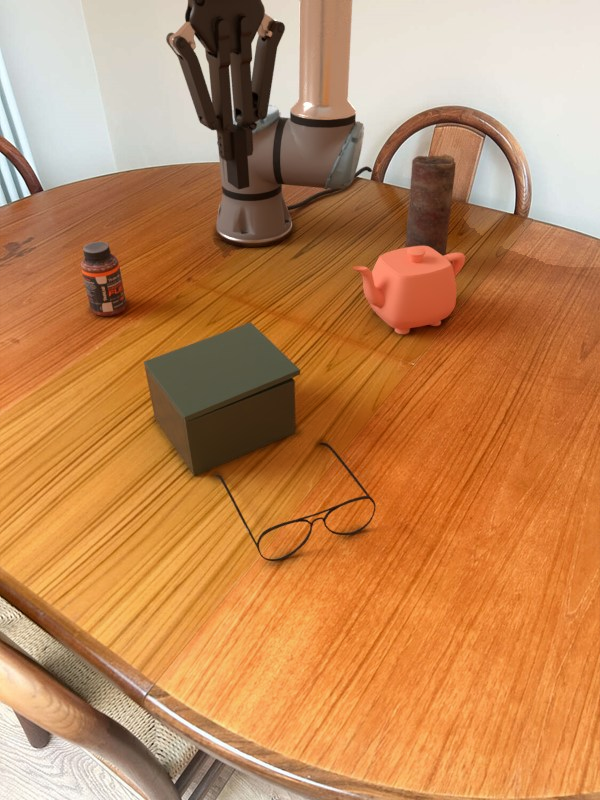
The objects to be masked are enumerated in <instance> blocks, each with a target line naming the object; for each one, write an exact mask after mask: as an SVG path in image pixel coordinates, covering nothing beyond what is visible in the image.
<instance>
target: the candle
mask: <svg viewBox="0 0 600 800" xmlns="http://www.w3.org/2000/svg"><path fill="white" fill-rule="evenodd" d="M456 165H457V163H456V162H455V158H454V157H452V156H451V155H449V154H444V153H443V154H442V155H430V156H427V155H425V156H424V155H417V156H415V157H414V158H413V159H412V161H411V176H410V186H409V187H410V188H409V201H408V210H407V211H408V212H407V220H406V234H405V243H404V244H405V247H404V248H407V247H413V246H429V247H431V248H432V249H434V250H435V251H437V252H438V253H440V254H441V255H442V256H444V255H447V247H448V237H449V229H450V227H449V226H450V217H451V209H452V202H453V201H452V200H453V192H454V184H455V176H456Z"/></svg>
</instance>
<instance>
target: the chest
mask: <svg viewBox="0 0 600 800" xmlns="http://www.w3.org/2000/svg"><path fill="white" fill-rule="evenodd" d="M144 371H145V376H146V380H147V386H148V391H149V396H150V402H151V406H152V411H153V415H154V420H155V421H156V423H157V424H158V426H159V428H160V429H161V430H162V431H163V433H164V435H165V436H166V437H167V439H168V441H169V442H170V443H171V445H172V446H173V447H174V449H175V451H176V452H177V454H178V455H179V456H180V458H181V459H182V462H184V464H185V466H187V468H188V470H189V471H190V472H191V474H192V475H193V476H194V477H196V476H198V475H200V474H202V473H205V472H208V471H210V470H212V469H214V468H217V467H219V466H221V465H224V464H226V463H229V462H231V461H234V460H236V459H238V458H240V457H243V456H245V455H248V454H250V453H252V452H255V451H257V450H259V449H262V448H264V447H266V446H269V445H271V444H273V443H276V442H278V441H281V440H283V439H285V438H288V437H290V436H293V435H295V434H296V381H295V379H294V377H293V378H291V379H288V380H286V381H283V382H281V383H279V384H276V385H274V386H271V387H269V388H267V389H264V390H262V391H259V392H257V393H254V394H252V395H250V396H247V397H245V398H242V399H240V400H238V401H235V402H233V403H230V404H228V405H226V406H223V407H221V408H218V409H216V410H214V411H211V412H209V413H206V414H204V415H202V416H199V417H197V418H194V419H192V420H190V421H187V422H185V421H184V419H183V418H182V416H181V415H180V414H179V412H178V411H177V410H176V408H175V407H174V406H173V404H172V403H171V401H170V400H169V399H168V397H167V396H166V395H165V393H164V392H163V391H162V389H161V388H160V387H159V385H158V384H157V382H156V381H155V380H154V378H153V377H152V376H151V374H150V373H149V372H148V370H147V369H146V367H145V366H144Z"/></svg>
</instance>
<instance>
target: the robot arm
mask: <svg viewBox="0 0 600 800" xmlns="http://www.w3.org/2000/svg"><path fill="white" fill-rule="evenodd" d="M298 1H299V3H298V4H299V6H298V7H299V8H298V9H299V10H298V11H299V13H298V14H299V15H298V17H299V18H298V19H299V20H298V21H299V23H298V28H299V29H298V31H299V32H298V34H299V35H298V99H297V101H296V102H295V103H294V104H293V105H292V106H291V107H290V109H289V110H290V111H289V115H290V116H289V117H285V116H284V117H282V113H281V109H280V108H279V107H278V106H276V105H272V104H270V100H271V99H270V98H271V92H272V86H273V80H274V71H275V66H276V58H277V52H278V47H279V44H280V42H281V40H282V38H283V35H284V33H285V31H286V26H285V24H284V22H282V21H279V20H277V19H274V18H273V17H271V16H269V15H268V14H267V13H266V9H265V5H264V4H263V1H262V0H187V5H186V10H185V14H184V20H185V22H184V23H183V24H182V26H181V27H180V28H179V29H178V30H177V31H176V32H175V33H174V32H169V33H167V35H166V38H165V40H166V44H167V45H168V46H169V47H170V49H171V50H172V52H173V53H174V54H175V56H176V57H177V59H178V62H179V65H180V68H181V72H182V74H183V77H184V80H185V82H186V86H187V88H188V91H189V94H190V98H191V101H192V103H193V107H194V110H195V113H196V115H197V118H198V121H199V123H200V124H201V125H203V126H205V127H206V128H207V129H209V130H211V131H216V138H217V141H216V142H217V143H216V145H217V149H218V158H219V159H218V160H219V169H220V180H221V181H220V182H221V189H222V191H221V193H222V195H221V200H220V203H219V205H218V211H217V218H216V221H215V222H216V223H215V228H216V235H217V236H218V238H219V239H220V240H222V241H223V242H225V243H227V244H229V245H233V246H237V247H243V248H259V247H266V246H267V247H268V246H272V245H275V244H277V243H280V242H282V241H284V240H286V239H287V238H289V237H290V235H291V234H292V232H293V221H292V215H291V214H290V211H291V210H295V209H298V208H299V209H300V208H301V207H303V206H305V205H307V204H309V203H311V202H312V201H313V200H315V199H318V198H320V197H322V196H325V195H329V194H333V193H336V192H339V191H342V190H344V189H347V188H348V187H350V186H351V184H352V183H353V181H354V180H355V179H356V178H357V177H358V176H360V175H361V174H363V173H364V172H366V171H367V172H368V173H372V172H373V169H372V168H371V167H369V166H367V165H366V166H363V167H361V168H359V169H358V166H359V162H360V158H361V152H362V148H363V142H364V137H365V136H364V135H365V125H364V123H363V122H361V121H359V120H357V121H356V118H357V116H356V114H357V109H356V108H355V107H354V105H352V103H351V102H350V101H349V83H350V82H349V81H350V63H351V62H350V60H351V42H352V41H351V40H352V21H353V19H352V18H353V17H352V16H353V0H298ZM256 35H258V37H257V39H256V44H255V50H254V51H255V52H254V57H253V49H252V44H253V41H254V39H255V37H256ZM194 38H196V39H197V41H198V42H199V43H200V44H201V45H202V47H203V48H204V52H205V59H206V61H207V64H208V72H209V84H210V91H209V89H208V86H207V81H206V79H205V75H204V72H203V69H202V66H201V63H200V60H199V57H198V56H197V54H196V52H195V49H196V47H197V45H196V41H195V39H194ZM252 61H253V67H252V66H251V62H252ZM251 67H252V69H251ZM284 185H285V186H295V187H307V188H318V189H324V190H322V191H319V192H317V193H315V194H312V195H311V196H309V197H307V198H305V199H303V200H302V201H300V202H297V203H295V204H290V205H287V202H286V200H285V196H284V194H283V186H284Z"/></svg>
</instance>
